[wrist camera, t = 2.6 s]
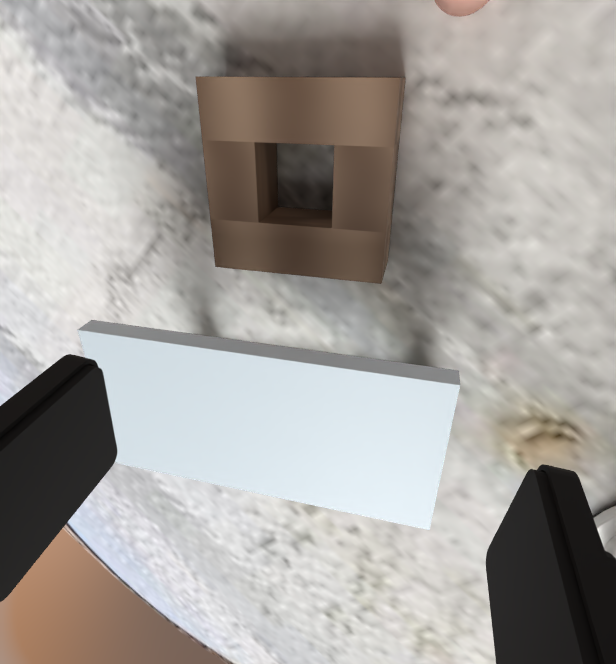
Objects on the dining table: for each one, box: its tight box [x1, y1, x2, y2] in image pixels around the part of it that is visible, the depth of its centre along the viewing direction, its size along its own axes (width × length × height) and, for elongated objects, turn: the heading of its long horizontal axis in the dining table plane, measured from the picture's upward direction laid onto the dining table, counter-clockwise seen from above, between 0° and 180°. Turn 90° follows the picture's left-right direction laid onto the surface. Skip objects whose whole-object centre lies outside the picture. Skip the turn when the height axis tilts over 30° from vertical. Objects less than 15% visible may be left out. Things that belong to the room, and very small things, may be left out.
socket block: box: [196, 77, 405, 284], centre depth 28 cm, size 11×11×4 cm
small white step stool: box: [78, 320, 460, 530], centre depth 30 cm, size 20×10×12 cm, turn 90°
